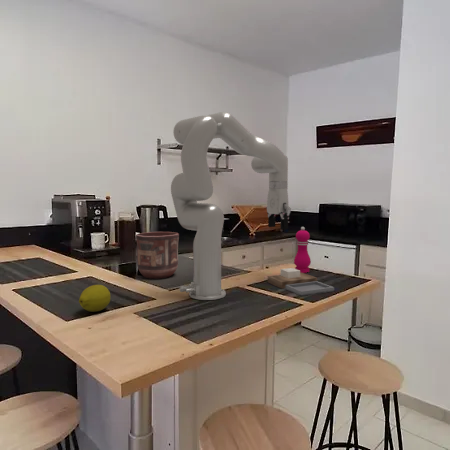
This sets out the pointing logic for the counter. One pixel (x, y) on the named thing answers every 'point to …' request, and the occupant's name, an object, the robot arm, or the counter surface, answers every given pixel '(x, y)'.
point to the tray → (309, 288)
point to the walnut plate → (290, 280)
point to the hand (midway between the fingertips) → (277, 227)
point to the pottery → (157, 254)
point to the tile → (290, 273)
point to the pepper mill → (302, 251)
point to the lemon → (95, 298)
